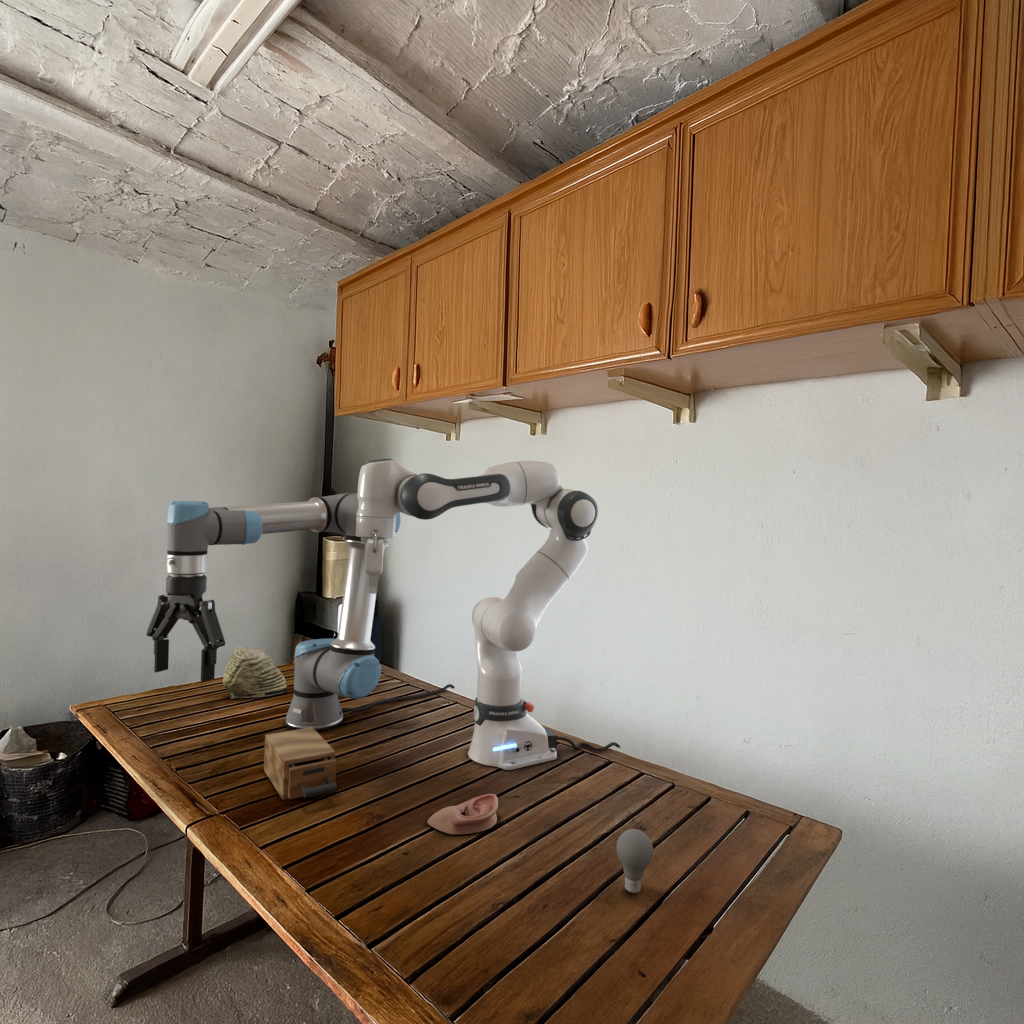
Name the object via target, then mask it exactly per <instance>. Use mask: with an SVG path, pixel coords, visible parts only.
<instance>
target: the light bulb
mask: <svg viewBox="0 0 1024 1024" xmlns="http://www.w3.org/2000/svg"><path fill="white" fill-rule="evenodd" d="M615 849H616V854H617V857H618V859H619V861H620V863H621V865H622V867H623V873H624V874H623V875H624V876H625V878H624V888H625V890H627V891H628V892H630V893H634V894H635V893H639V892H640V891H641V889H642V887H641V886H642V879H643V877H644V875H645V871H646V868H647V867H648V866H649V864H650V863H651V861H652V859H653V855H654V847H653V843H652V841H651V838H649V836H648V835H647V834H646V833H645V832H643V831H642V830H641V829H636V828H629V829H627V830H625V831H623V832H622V833H621V834H620V835H619V837H618V839H617V841H616V847H615Z"/></svg>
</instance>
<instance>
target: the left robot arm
mask: <svg viewBox="0 0 1024 1024" xmlns="http://www.w3.org/2000/svg"><path fill="white" fill-rule="evenodd" d="M357 494H358V492H357V493H356V492H346V493H345V492H344V493H338V494H333V495H326V496H315V497H311V498H309V499H308V500H307V501H295V502H293V501H292V502H278V503H264V504H262V503H261V504H248V505H247V504H246V505H230V506H229V505H228V506H215V507H213V506H212V507H210V506H209V503H208V502H207V501H204V500H173V501H171V502H170V503H169V506H168V511H167V520H166V524H167V545H166V546H167V547H166V548H167V551H166V573H167V574H168V575H167V577H166V579H165V594H160V595H158V597H157V604H156V608H155V610H154V613H153V615H152V617H151V621H150V623H149V625H148V627H147V629H146V630H147V631H146V633H145V634H146V636H147V637H148V638H149V637H150V638H151V640H152V641H153V655H154V668H153V671H154V673H160V672H164V671H167V670H169V657H170V655H169V654H170V653H169V652H170V639H169V634H170V633H171V631H172V630H173V628H174V627H175V625H176V624H177V623H178V621H179V620H183V621H187V622H188V623H189V624H191V625H192V627H193V629H194V631H195V633H196V634H197V636H198V638H199V640H200V642H201V645H202V646H203V647H204V648H202V649H201V654H200V657H201V658H200V659H201V661H200V683H205V682H209V681H212V680H215V671H216V670H215V669H216V664H217V659H218V658H217V657H218V649H219V648H221V647H225V646H226V641H225V640H226V639H225V636H224V634H223V630H222V627H221V624H220V621H219V617H218V615H217V612H216V603H215V601H216V600H214V599H208V600H204V598H203V595H204V594H205V593H206V591H207V583H208V581H207V578H208V577H207V576H206V575H205V574H206V573H208V548H209V546H224V545H225V546H226V545H243V546H244V545H249V544H255V543H257V542H258V541H259V540H260V539H261V537H262V535H268V534H277V533H287V532H297V531H309V530H310V531H311V532H313V533H336V534H342V535H344V542H345V544H346V545H347V546H348V548H349V549H348V550H349V551H348V557H347V565H346V572H345V580H344V586H343V595H342V601H341V602H342V603H341V610H340V616H339V624H338V625H339V626H338V632H337V637H336V638H317V639H316V638H315V639H308V640H304V641H300V642H299V643H298V644H297V645H296V646H295V650H294V651H295V652H294V655H293V658H294V672H293V673H294V674H293V695H292V696H293V697H292V699H291V702H290V704H289V708H288V711H287V713H286V715H285V726H286V728H287V729H289V730H297V729H303V728H309V727H313V728H314V729H315V730H316V732H317V733H319V732H325V731H329V730H332V729H335V728H337V727H339V726H340V725H342V723H343V722H344V714H343V712H353V713H354V712H361V711H364V710H367V709H369V708H372V707H374V706H377V705H382V704H387V703H393V702H399V701H406V700H411V699H412V700H413V699H419V698H423V697H428V696H431V695H435V694H439V693H442V692H444V691H446V690H447V689H449V688H451V689H452V690H454V689H455V688H456V687H455V686H454V685H453V684H451V683H449V684H446V685H445V686H443V687H441V688H439V689H438V688H437V689H435V690H432V691H428V692H423V693H418V694H412V695H405V696H399V697H391V698H386V699H381V700H377V701H373V702H371V703H368V704H366V705H364V706H359V707H342V706H341V702H340V699H339V696H341V697H342V698H345V699H351V700H360V699H364V698H366V697H367V696H369V695H370V694H371V693H372V691H373V690H375V688H376V687H377V685H378V684H379V682H380V679H381V676H382V665H381V663H380V660H378V658H377V657H376V656H375V652H376V645H375V644H374V643H373V642H372V640H371V637H372V629H373V623H374V615H375V607H376V600H377V593H375V594H370V593H369V575H368V574H366V573H365V562H366V552H365V544H361V537H357V536H356V515H357V511H358V508H359V502H358V497H357ZM400 527H401V512H398V513H397V514H396V528H395V534H396V533H397V532H398V531H399V530H400ZM388 547H389V545H385V549H387V548H388ZM379 576H380V575H379ZM379 576H378V578H379Z"/></svg>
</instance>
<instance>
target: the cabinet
mask: <svg viewBox="0 0 1024 1024" xmlns="http://www.w3.org/2000/svg"><path fill="white" fill-rule="evenodd" d="M326 757H327V758H328V760H331V759H335V760H336V750H335V749H334V748H333V747H332V745H330V744H329V743H328V742H327V741H326V740H325V738H323V737H322V735H321V734H320V733H319V732H316V730H315V729H314V728H313V727H309V728H303V729H297V730H292V729H290V730H286V731H280V732H273V733H267V734H265V735H264V756H263V759H264V760H263V771H264V773H265V775H266V776H267V777H268V779H269V780H270V782H271V784H272V785H273V787H274V788H275V790H276V791H277V794H278V795H279V796H280V798H281V800H283V801H284V800H285V801H286V800H289V798H288V777H289V765H290V764H295V763H300V762H305V761H310V760H315V759H321V758H326Z"/></svg>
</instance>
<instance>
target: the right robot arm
mask: <svg viewBox="0 0 1024 1024" xmlns="http://www.w3.org/2000/svg"><path fill="white" fill-rule="evenodd" d="M357 493H358V494H357V497H358V502H359V508H358V511H357V515H356V536H357V537H361V544H365V552H366V562H365V573H366V574H368V575H369V593H370V594H375V593H376V594H377V593H378V585H379V577H378V576H380V575H382V574H383V572H384V571H383V570H384V569H383V568H384V556H385V555H384V554H385V549H386V548H385V545H388V546H389V545H390V539H395V538H396V533H395V528H396V514H397V513H398V512H400V514H401V513H402V514H404V515H406V516H410V517H414V518H416V519H419V520H425V521H427V520H432V519H435V518H437V517H439V516H441V515H442V514H444V513H446V512H447V511H449V510H450V509H453V508H457V507H464V506H471V505H478V504H489V505H491V506H493V507H502V508H511V507H520V506H527V505H530V507H531V513H532V516H533V517H534V519H535V522H537V523H538V524H539V525H541V526H542V527H544V528H547V529H550V531H549V535H548V537H547V540H546V541H545V542H544V543H543V545H542V546H541V547H540V548H539V549H538V550H537V551H536V552H535V553H534V554H533V555H532V556H531V557H530V559H529V560H528V561H527V562H526V563H525V564H524V565H523V567H521V568H520V570H519V571H518V572H517V573H516V575H515V579H514V582H513V584H512V586H511V588H510V589H509V591H508V593H507V595H506V596H505V597H504V598H502V597H498V596H490V597H485V598H483V599H480V600H479V601H478V602H477V603H476V604H475V605H474V607H473V609H472V612H471V620H472V624H473V630H474V643H475V651H476V659H477V660H476V661H477V684H476V685H477V689H476V697H475V699H474V707H473V720H474V725H473V726H474V728H473V733H472V737H471V742H470V745H469V749H468V752H467V756H468V757H469V759H470V760H472V761H473V762H475V763H477V764H481V765H484V766H490V767H495V768H499V769H503V770H505V771H513V770H516V769H521V768H525V767H529V766H534V765H538V764H542V763H547V762H550V761H554V760H555V761H556V760H558V759H557V758H558V752H557V748H558V741H562V742H563V741H564V742H567V743H569V744H570V746H571V747H572V748H573V749H575V750H580V748H581V747H583V746H584V747H586V748H588V749H590V750H592V751H594V752H604V751H607V750H608V749H610V748H612V747H613V746H615V747H616V749H617V748H618V749H619V748H621V745H620V744H619V743H618V742H616V741H612V742H610V743H608V744H606V745H605V746H603V747H595V746H593V745H592V744H590V743H588V742H586V741H585V742H582V741H581V742H578V744H577V745H576V744H575V742H574V741H573V740H572V739H570V738H568V737H564V736H558V734H557V733H556V732H555V731H554V730H553V729H552V728H551V727H550V728H548V727H547V728H544V727H543V725H542V724H541V723H540V722H538V721H537V720H536V719H534V717H532V716H531V715H530V714H528V713H533V712H534V710H535V706H534V704H532V703H531V702H527V700H525V699H523V698H522V679H523V678H522V677H523V669H522V665H521V662H520V657H519V652H521V651H524V650H526V649H527V648H528V647H530V645H532V643H533V642H534V640H535V637H536V635H537V634H536V633H537V626H538V624H539V622H540V621H541V619H542V616H543V615H544V613H545V611H546V609H547V608H548V606H549V605H550V604H551V602H552V601H553V599H554V598H555V597H556V596H557V595H558V594H559V592H560V591H561V590H562V589H563V588H564V587H565V585H567V583H568V582H569V581H570V580H571V579H572V577H573V576H574V574H575V573H576V572H577V571H578V569H579V568H580V566H581V565H582V563H583V562H584V560H585V558H586V556H587V555H588V551H589V547H588V546H589V545H588V544H587V541H586V538H587V537H589V536H590V535H591V533H592V530H593V528H594V527H595V524H596V522H597V520H598V515H599V506H598V504H597V501H596V500H595V498H593V497H592V496H591V495H590V494H588V493H586V492H584V491H582V490H575V489H572V488H571V489H570V488H563V487H562V486H561V483H560V476H559V473H558V470H557V469H556V467H555V466H554V465H553V464H551V463H550V462H546V461H538V460H537V461H536V460H519V461H511V462H510V461H509V462H504V463H500V464H496V465H492V466H490V467H488V468H487V469H486V470H485V472H484V473H483V474H480V475H475V476H469V477H467V476H466V477H457V478H445V477H441V476H439V475H436V474H433V473H427V472H426V473H425V472H424V473H419V474H417V473H415V472H413V471H411V470H409V469H407V468H406V467H404V466H402V465H401V464H399V463H398V462H397V461H396V460H395V459H393V458H379V459H373V460H368V461H366V462H365V463H363V464H362V466H361V467H360V470H359V474H358V482H357ZM527 712H528V713H527Z"/></svg>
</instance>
